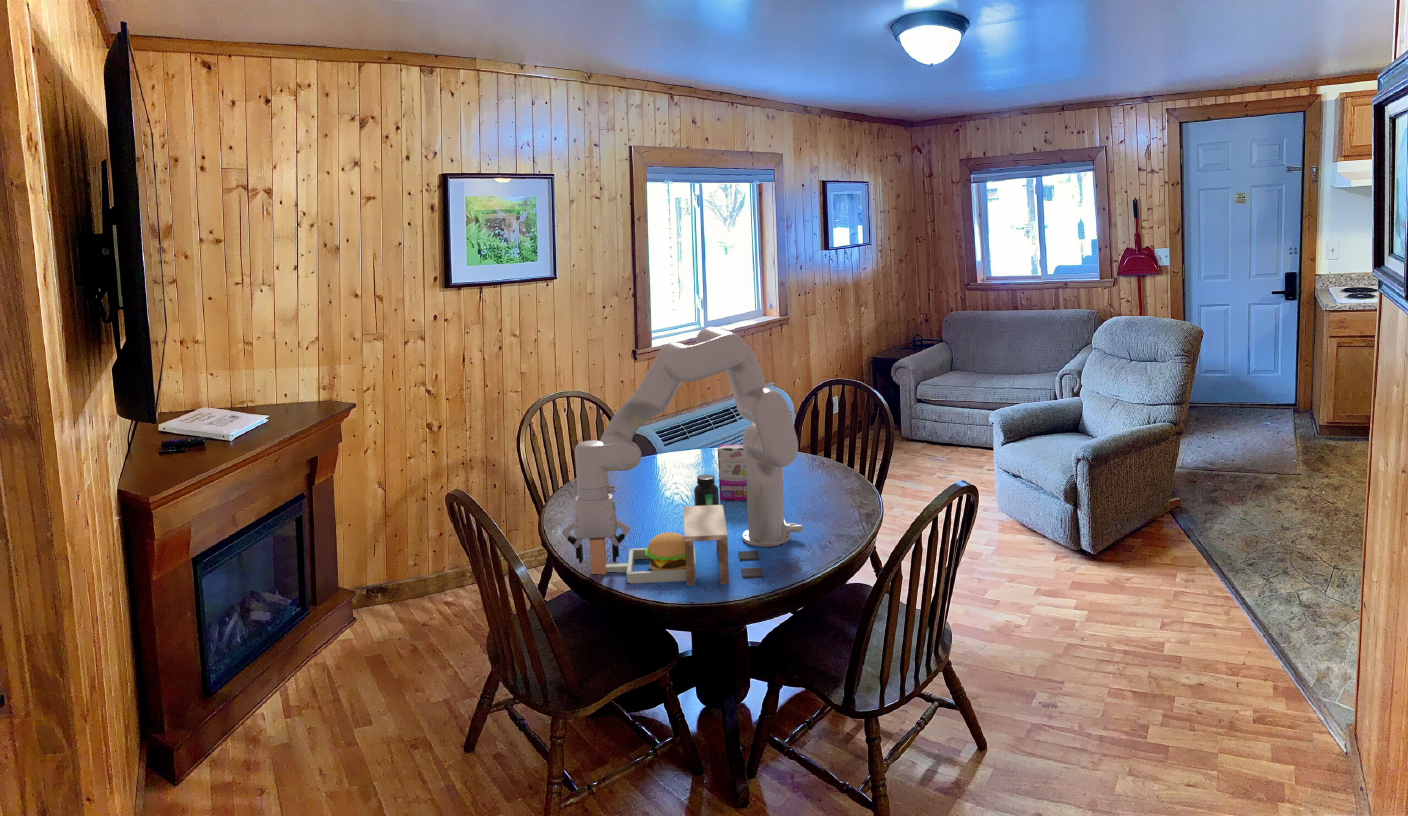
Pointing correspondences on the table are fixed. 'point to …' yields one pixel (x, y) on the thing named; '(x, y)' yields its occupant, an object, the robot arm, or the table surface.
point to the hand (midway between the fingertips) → (598, 560)
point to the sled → (631, 565)
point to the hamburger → (667, 552)
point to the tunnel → (705, 537)
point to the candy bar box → (732, 473)
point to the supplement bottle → (706, 491)
